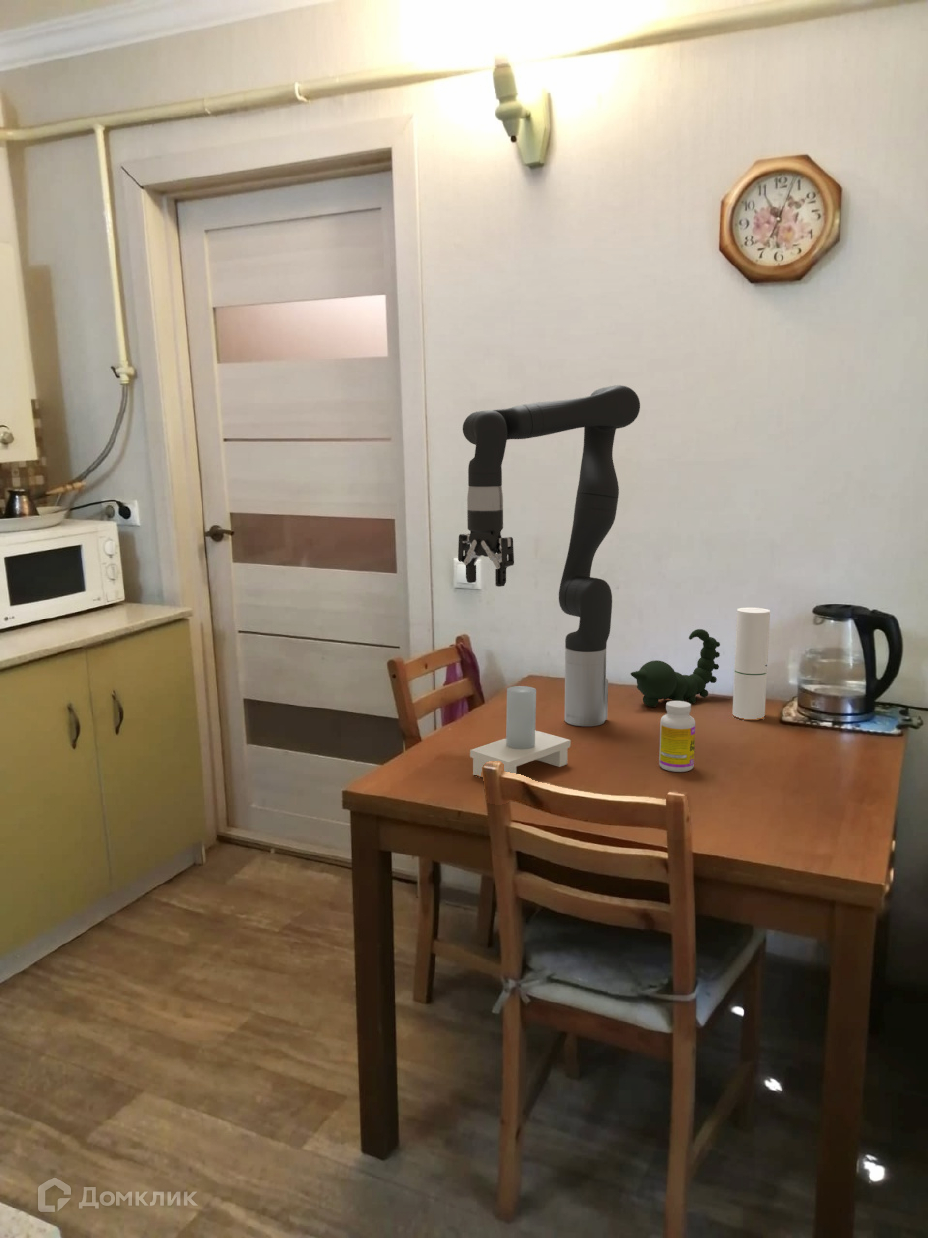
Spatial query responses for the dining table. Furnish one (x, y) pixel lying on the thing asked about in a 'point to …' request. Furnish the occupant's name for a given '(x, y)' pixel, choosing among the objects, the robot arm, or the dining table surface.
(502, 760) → the white riser stand
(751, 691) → the cylindrical container
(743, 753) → the dining table surface
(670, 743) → the supplement bottle
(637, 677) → the toy figurine
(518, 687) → the white rounded cylinder
